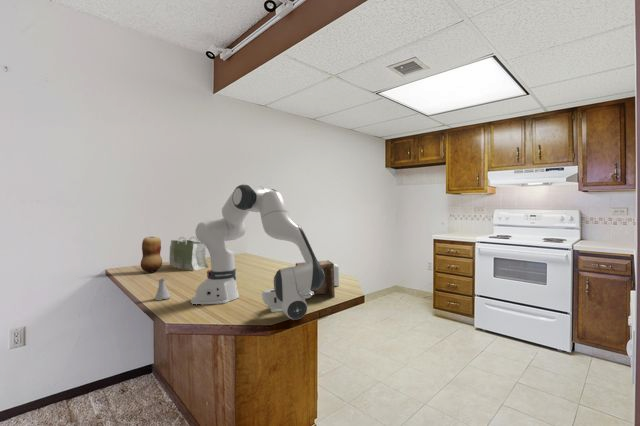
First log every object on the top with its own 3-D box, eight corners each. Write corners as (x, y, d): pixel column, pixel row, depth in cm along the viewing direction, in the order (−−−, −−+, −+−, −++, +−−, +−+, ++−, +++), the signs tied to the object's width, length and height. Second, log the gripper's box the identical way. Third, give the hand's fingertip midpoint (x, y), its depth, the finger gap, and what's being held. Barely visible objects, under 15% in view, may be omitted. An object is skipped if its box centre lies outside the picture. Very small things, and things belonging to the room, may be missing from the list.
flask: (154, 302, 153) (153, 281, 152) (154, 298, 159) (153, 278, 159) (171, 299, 156) (170, 279, 156) (170, 295, 163) (169, 276, 162)
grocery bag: (209, 267, 233) (208, 236, 232) (192, 271, 222) (191, 238, 221) (185, 263, 252) (184, 234, 251) (168, 266, 240) (167, 236, 239)
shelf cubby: (300, 300, 147) (298, 266, 147) (296, 295, 156) (295, 263, 155) (334, 297, 152) (333, 263, 151) (329, 292, 160) (328, 260, 160)
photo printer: (337, 284, 175) (337, 262, 174) (340, 286, 171) (339, 263, 170) (319, 285, 173) (319, 263, 172) (321, 287, 168) (320, 264, 168)
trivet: (271, 312, 133) (271, 311, 133) (268, 303, 144) (268, 302, 144) (299, 309, 136) (299, 307, 136) (294, 301, 147) (294, 299, 147)
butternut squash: (156, 274, 216) (154, 237, 215) (137, 274, 216) (135, 238, 215) (166, 269, 230) (164, 235, 229) (148, 270, 230) (146, 236, 229)
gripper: (315, 286, 126) (307, 279, 140) (263, 292, 121) (260, 284, 135) (315, 302, 127) (308, 293, 140) (264, 308, 121) (261, 298, 135)
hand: (284, 288), depth 137 cm, fingers open, 8 cm apart
